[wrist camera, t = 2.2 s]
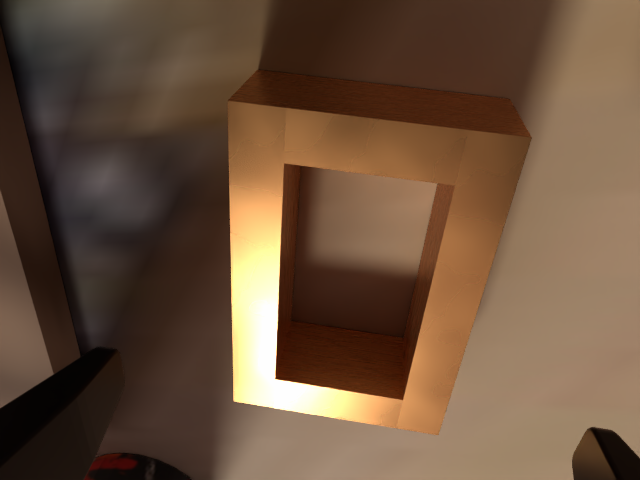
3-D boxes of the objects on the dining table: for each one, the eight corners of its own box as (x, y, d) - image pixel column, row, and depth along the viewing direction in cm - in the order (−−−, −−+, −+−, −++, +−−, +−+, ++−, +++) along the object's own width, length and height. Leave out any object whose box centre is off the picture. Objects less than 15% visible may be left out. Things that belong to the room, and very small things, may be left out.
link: (434, 370, 17) (438, 435, 15) (254, 342, 17) (233, 400, 15) (509, 99, 12) (532, 137, 10) (257, 69, 12) (227, 100, 10)
